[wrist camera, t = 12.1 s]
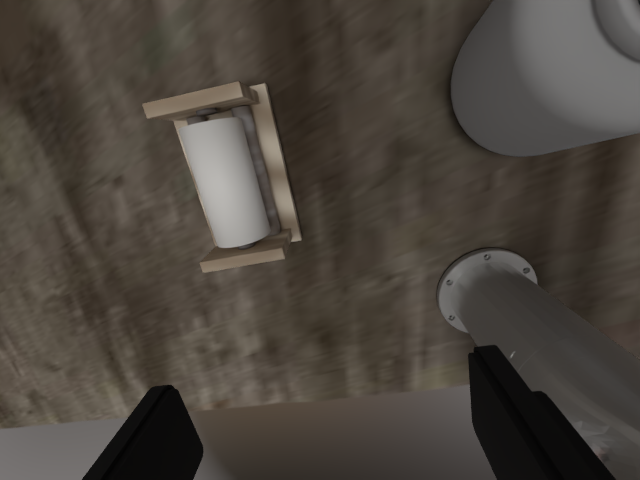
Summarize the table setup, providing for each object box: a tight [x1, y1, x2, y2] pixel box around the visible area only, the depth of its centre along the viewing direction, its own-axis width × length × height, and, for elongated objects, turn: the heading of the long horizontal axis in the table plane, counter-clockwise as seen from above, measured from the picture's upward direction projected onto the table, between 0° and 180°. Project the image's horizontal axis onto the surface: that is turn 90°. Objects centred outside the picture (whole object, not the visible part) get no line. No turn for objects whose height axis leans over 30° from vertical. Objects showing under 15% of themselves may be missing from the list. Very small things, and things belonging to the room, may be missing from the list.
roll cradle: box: [142, 81, 302, 273], centre depth 33 cm, size 18×11×8 cm, turn 11°
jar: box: [451, 0, 640, 157], centre depth 20 cm, size 19×15×25 cm
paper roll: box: [178, 117, 271, 248], centre depth 31 cm, size 12×6×6 cm, turn 11°
